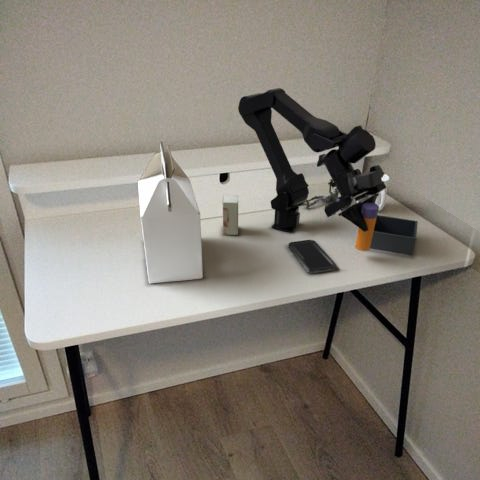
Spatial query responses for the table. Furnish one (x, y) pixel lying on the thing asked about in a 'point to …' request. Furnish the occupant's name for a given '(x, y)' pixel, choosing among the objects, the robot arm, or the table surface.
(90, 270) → the table surface
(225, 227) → the cosmetics bottle
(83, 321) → the table surface
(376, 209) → the glue stick
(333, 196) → the zombie figurine
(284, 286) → the table surface
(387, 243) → the organizer
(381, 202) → the mug
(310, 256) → the phone
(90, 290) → the table surface
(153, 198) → the gable box
